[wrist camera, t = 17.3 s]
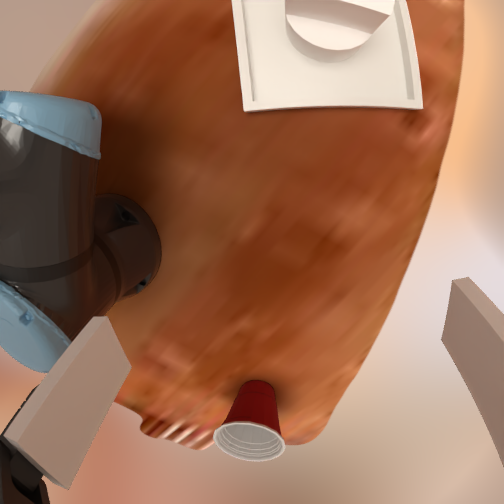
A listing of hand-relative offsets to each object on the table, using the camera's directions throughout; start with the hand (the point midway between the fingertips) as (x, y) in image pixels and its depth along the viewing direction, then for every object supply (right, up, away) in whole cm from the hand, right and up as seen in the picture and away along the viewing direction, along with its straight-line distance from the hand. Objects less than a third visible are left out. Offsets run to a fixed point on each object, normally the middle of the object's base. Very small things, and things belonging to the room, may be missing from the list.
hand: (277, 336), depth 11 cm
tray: (+8, +29, +17) cm, 34 cm away
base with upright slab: (+7, +28, +17) cm, 34 cm away
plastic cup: (0, -21, +39) cm, 44 cm away
